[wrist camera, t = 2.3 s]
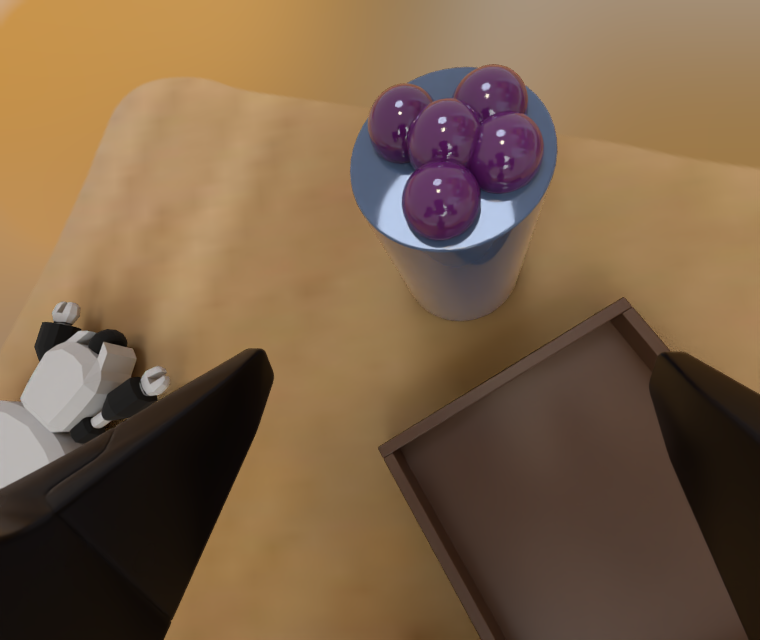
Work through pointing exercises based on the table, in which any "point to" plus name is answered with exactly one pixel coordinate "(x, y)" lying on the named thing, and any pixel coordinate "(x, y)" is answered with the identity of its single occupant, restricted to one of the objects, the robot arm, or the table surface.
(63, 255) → the table surface
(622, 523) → the tray
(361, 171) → the grape cup
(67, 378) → the robot toy
